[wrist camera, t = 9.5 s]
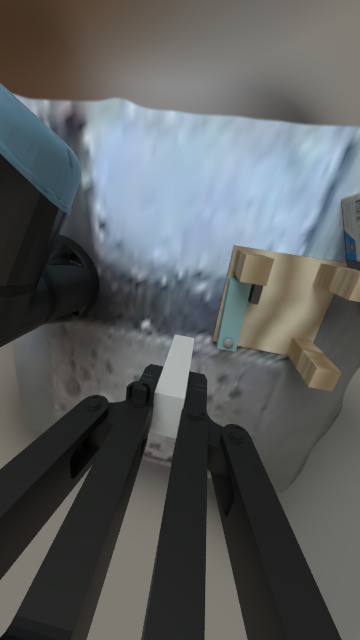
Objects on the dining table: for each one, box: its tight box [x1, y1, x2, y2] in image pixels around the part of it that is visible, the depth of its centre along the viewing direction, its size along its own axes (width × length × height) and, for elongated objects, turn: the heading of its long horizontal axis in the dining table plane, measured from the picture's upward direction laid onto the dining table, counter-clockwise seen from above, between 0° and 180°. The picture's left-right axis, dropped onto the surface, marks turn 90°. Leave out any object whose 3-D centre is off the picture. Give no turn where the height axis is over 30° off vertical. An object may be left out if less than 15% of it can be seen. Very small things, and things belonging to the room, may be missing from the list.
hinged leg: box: [216, 277, 252, 352], centre depth 33 cm, size 11×3×4 cm, turn 174°
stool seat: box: [213, 246, 360, 392], centre depth 30 cm, size 16×16×10 cm
